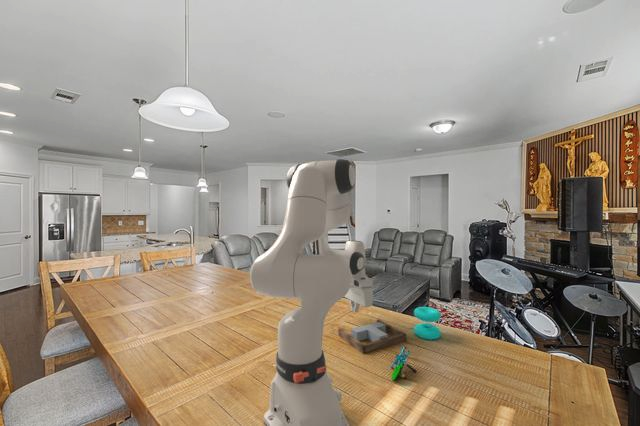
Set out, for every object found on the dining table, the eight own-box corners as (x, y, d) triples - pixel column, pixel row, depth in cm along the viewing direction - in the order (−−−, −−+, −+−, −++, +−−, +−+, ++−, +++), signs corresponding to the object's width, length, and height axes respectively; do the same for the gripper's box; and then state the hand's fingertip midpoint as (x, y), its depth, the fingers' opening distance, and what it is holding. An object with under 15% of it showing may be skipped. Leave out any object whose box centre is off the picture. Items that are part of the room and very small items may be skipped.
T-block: (398, 341, 106) (398, 331, 106) (368, 349, 100) (368, 339, 100) (379, 330, 116) (379, 321, 116) (351, 337, 109) (351, 328, 109)
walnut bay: (406, 340, 106) (406, 334, 106) (362, 353, 97) (362, 346, 97) (378, 325, 121) (378, 319, 121) (338, 335, 111) (338, 328, 111)
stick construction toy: (392, 353, 93) (405, 340, 89) (410, 367, 91) (424, 355, 88) (383, 383, 83) (398, 369, 79) (404, 399, 81) (419, 386, 77)
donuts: (446, 312, 108) (425, 316, 105) (446, 338, 108) (425, 342, 105) (428, 304, 117) (408, 307, 114) (428, 328, 118) (408, 331, 114)
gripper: (335, 274, 126) (335, 305, 126) (362, 284, 108) (362, 320, 108) (347, 273, 129) (347, 303, 129) (375, 282, 111) (375, 317, 111)
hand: (354, 311), depth 118 cm, fingers closed
